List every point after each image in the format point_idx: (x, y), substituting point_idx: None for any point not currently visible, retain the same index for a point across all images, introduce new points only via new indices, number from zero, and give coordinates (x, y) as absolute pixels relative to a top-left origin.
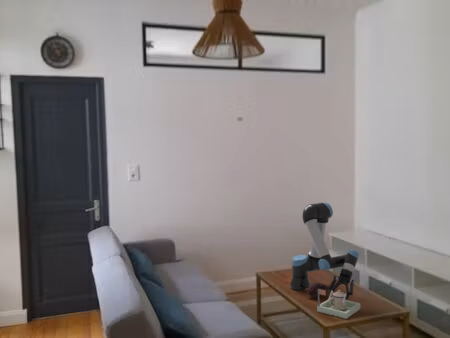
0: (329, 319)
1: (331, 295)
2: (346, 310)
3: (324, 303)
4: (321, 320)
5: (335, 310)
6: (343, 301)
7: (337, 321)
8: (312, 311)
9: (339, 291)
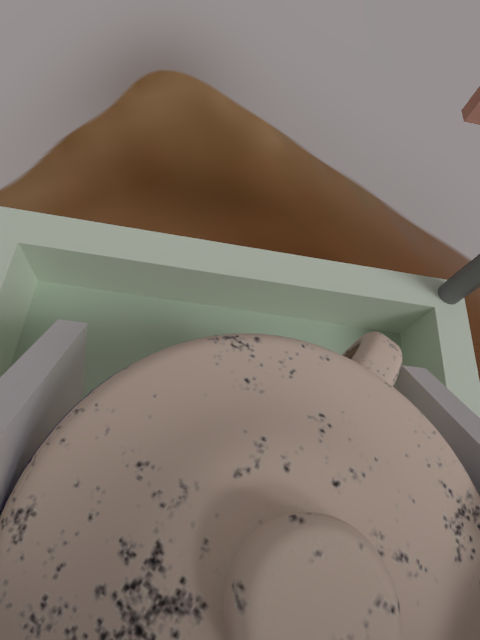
0: (200, 176)
1: None
2: None
3: None
4: (260, 134)
5: (177, 240)
6: (50, 334)
7: (103, 161)
8: None
9: (271, 526)
